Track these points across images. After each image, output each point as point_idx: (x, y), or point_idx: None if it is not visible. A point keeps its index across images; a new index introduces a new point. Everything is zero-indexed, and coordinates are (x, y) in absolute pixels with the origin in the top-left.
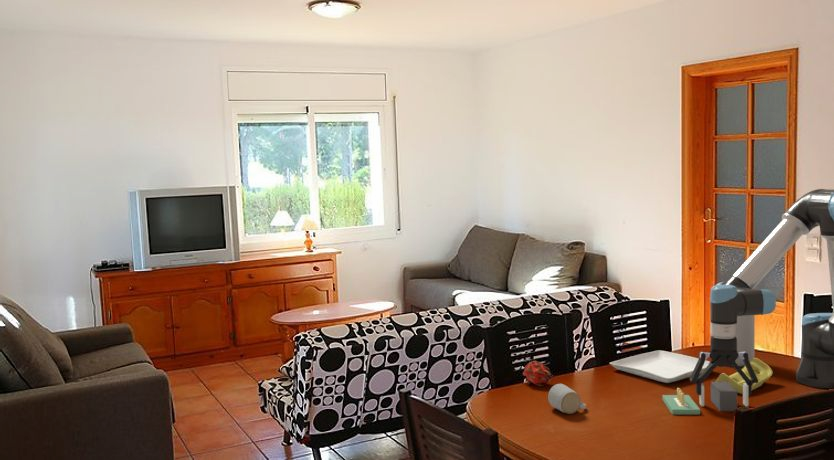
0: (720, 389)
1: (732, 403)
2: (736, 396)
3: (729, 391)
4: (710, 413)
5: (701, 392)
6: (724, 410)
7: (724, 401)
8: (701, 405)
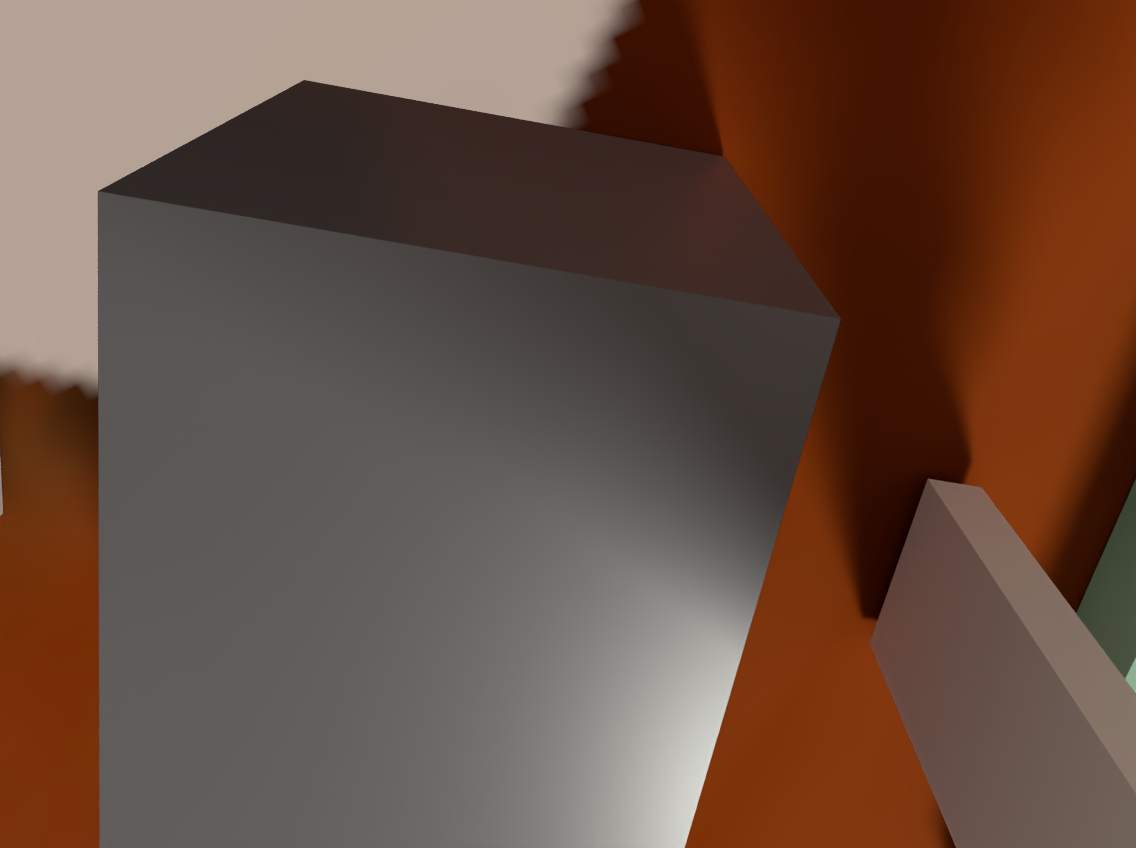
0: (669, 557)
1: (390, 136)
2: (201, 159)
3: (433, 257)
4: (1045, 27)
5: (1132, 707)
6: (617, 137)
7: (626, 192)
8: (984, 508)
